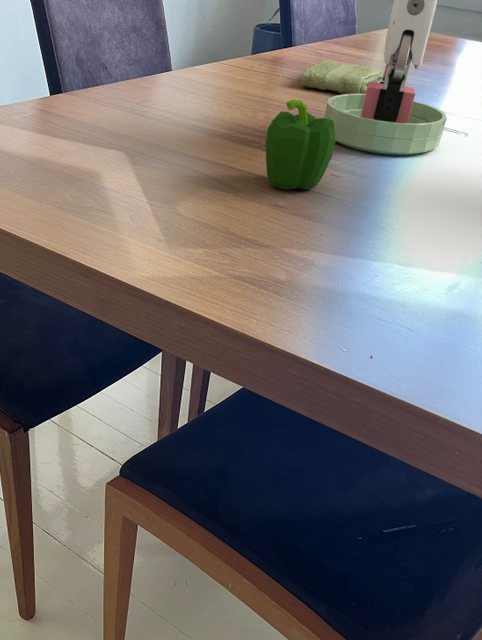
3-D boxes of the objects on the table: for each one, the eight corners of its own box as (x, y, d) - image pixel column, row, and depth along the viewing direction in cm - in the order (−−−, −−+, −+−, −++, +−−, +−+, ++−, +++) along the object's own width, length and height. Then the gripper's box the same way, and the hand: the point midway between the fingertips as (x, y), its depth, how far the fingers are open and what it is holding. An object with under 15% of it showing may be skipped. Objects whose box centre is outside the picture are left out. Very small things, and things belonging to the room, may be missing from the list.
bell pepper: (311, 174, 95) (327, 91, 89) (333, 196, 89) (353, 109, 83) (249, 173, 94) (262, 89, 88) (267, 196, 88) (283, 107, 81)
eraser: (406, 117, 107) (414, 87, 105) (407, 123, 104) (415, 93, 102) (361, 111, 108) (368, 81, 106) (360, 117, 105) (368, 87, 102)
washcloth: (384, 83, 144) (388, 64, 142) (362, 99, 131) (367, 80, 129) (319, 72, 148) (323, 54, 146) (293, 87, 135) (296, 68, 133)
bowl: (433, 132, 116) (441, 102, 113) (440, 164, 103) (451, 130, 100) (324, 118, 119) (330, 88, 116) (318, 147, 105) (324, 114, 103)
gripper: (458, -25, 88) (413, 135, 99) (447, -36, 100) (408, 107, 112) (395, -32, 89) (357, 127, 100) (392, -42, 102) (358, 100, 113)
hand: (384, 115), depth 106 cm, fingers closed on eraser, 4 cm apart
